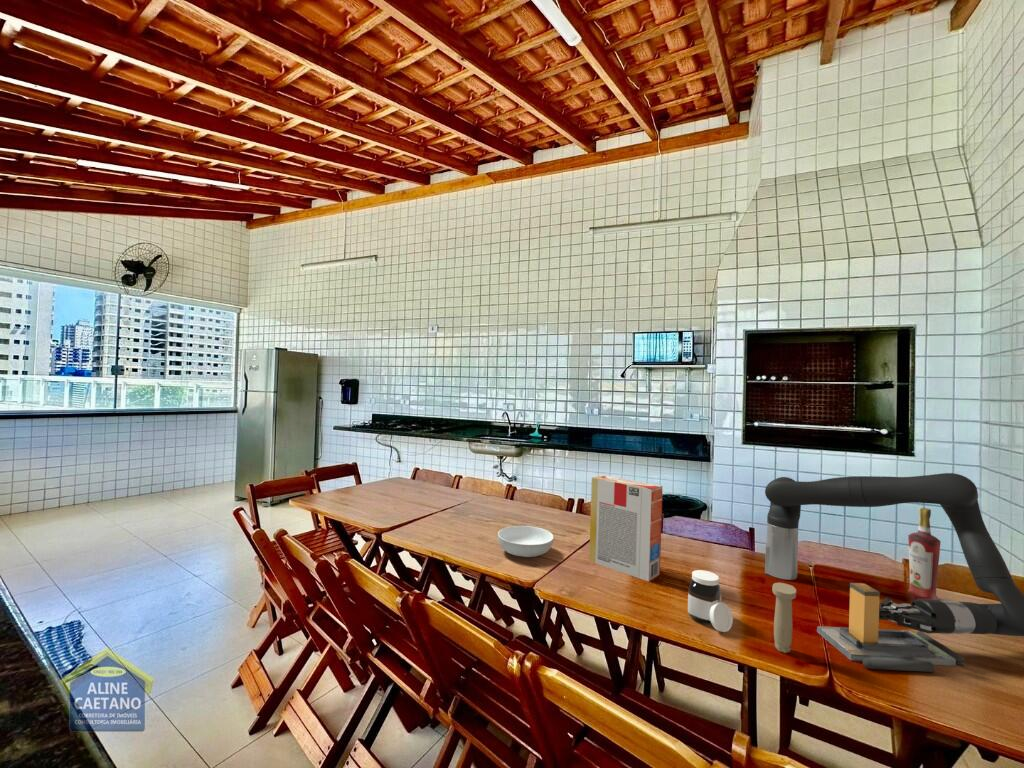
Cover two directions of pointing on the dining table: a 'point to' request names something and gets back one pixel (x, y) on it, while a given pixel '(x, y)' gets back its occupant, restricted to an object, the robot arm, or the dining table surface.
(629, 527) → the cereal box
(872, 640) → the tan wooden block
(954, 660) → the panel
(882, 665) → the grey rounded rod
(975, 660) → the dining table surface
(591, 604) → the dining table surface
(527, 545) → the serving bowl
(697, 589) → the spread jar
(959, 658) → the dark grey rounded bar
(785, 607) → the handle
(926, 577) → the liquor
